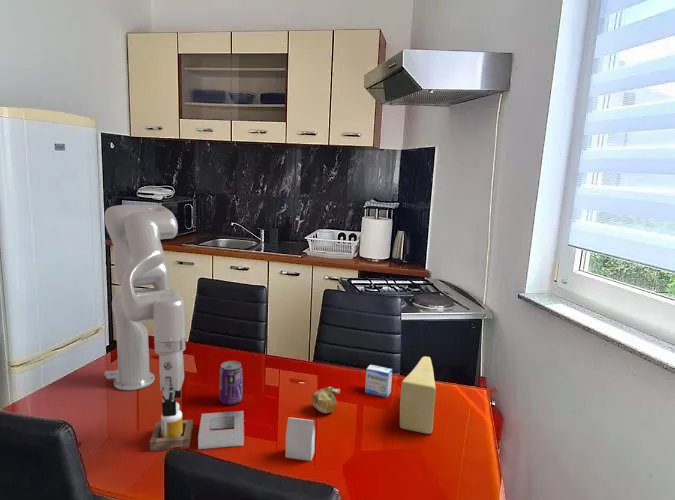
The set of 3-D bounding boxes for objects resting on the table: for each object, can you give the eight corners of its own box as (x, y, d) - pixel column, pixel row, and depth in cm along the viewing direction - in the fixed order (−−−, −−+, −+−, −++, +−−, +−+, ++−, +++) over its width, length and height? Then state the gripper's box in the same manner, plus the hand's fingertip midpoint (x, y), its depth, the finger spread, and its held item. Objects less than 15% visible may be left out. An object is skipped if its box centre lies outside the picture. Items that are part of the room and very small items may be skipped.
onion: (321, 401, 147) (321, 378, 145) (341, 410, 142) (342, 385, 141) (305, 411, 140) (306, 386, 139) (326, 420, 136) (327, 395, 135)
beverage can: (236, 407, 141) (236, 370, 139) (215, 404, 142) (215, 368, 140) (246, 396, 148) (246, 361, 146) (225, 394, 149) (225, 359, 147)
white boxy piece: (311, 461, 117) (312, 424, 115) (285, 457, 118) (286, 421, 116) (314, 452, 120) (315, 417, 119) (289, 449, 121) (290, 413, 120)
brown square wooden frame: (150, 451, 118) (149, 442, 118) (156, 430, 127) (156, 422, 127) (189, 447, 120) (188, 439, 120) (192, 427, 129) (192, 419, 129)
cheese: (410, 394, 154) (412, 352, 151) (439, 400, 151) (443, 356, 148) (397, 428, 133) (401, 380, 130) (431, 435, 130) (435, 386, 127)
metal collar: (198, 449, 120) (198, 436, 119) (201, 425, 131) (201, 413, 130) (243, 445, 122) (243, 433, 121) (243, 422, 133) (243, 410, 133)
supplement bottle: (187, 435, 125) (186, 402, 124) (174, 446, 120) (173, 412, 119) (170, 431, 127) (169, 398, 125) (157, 442, 122) (156, 408, 120)
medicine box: (364, 393, 153) (365, 368, 152) (368, 387, 158) (370, 363, 156) (387, 398, 151) (388, 373, 149) (391, 392, 155) (392, 368, 153)
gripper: (181, 356, 111) (183, 421, 114) (188, 332, 128) (190, 390, 131) (148, 357, 110) (151, 424, 112) (160, 334, 127) (162, 392, 129)
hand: (172, 406), depth 122 cm, fingers open, 9 cm apart
